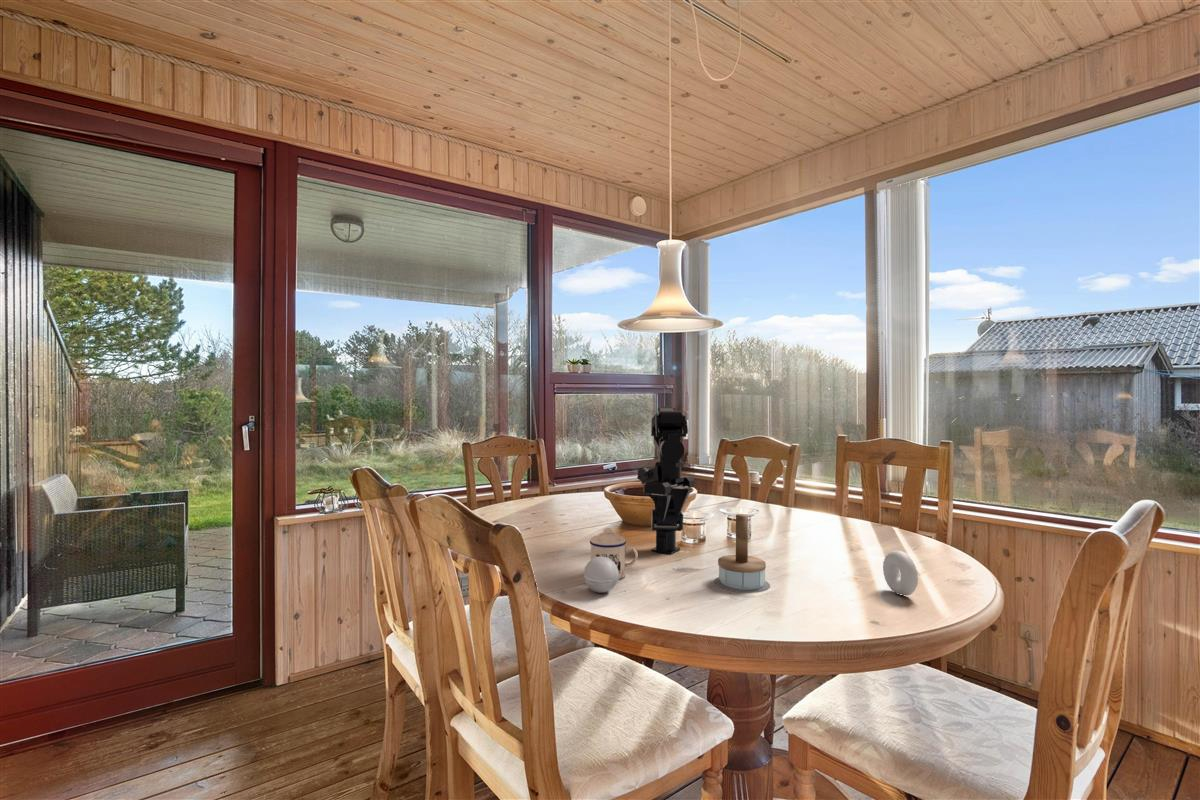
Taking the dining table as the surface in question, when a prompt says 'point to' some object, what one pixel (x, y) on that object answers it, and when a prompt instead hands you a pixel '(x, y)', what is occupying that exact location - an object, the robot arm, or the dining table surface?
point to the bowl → (742, 579)
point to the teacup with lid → (612, 549)
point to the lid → (741, 551)
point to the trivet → (764, 588)
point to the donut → (907, 569)
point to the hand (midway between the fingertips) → (669, 517)
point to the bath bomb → (601, 574)
